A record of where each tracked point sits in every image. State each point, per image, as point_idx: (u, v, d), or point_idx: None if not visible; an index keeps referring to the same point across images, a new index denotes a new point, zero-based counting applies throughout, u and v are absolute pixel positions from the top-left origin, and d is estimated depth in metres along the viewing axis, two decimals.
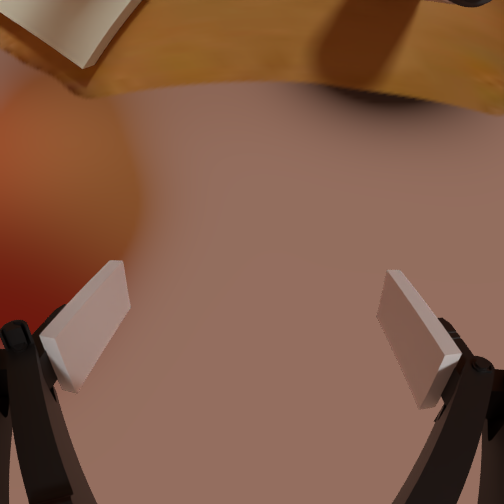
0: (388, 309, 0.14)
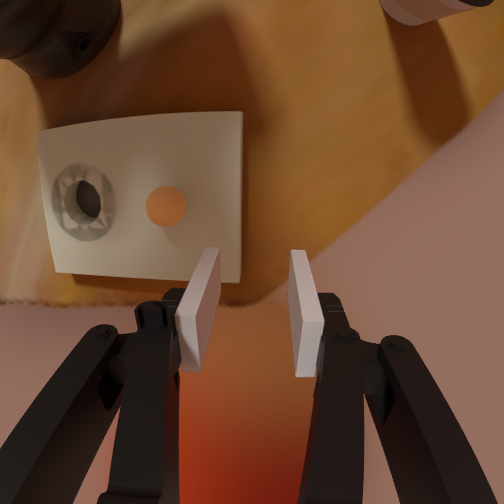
0: (290, 286, 0.16)
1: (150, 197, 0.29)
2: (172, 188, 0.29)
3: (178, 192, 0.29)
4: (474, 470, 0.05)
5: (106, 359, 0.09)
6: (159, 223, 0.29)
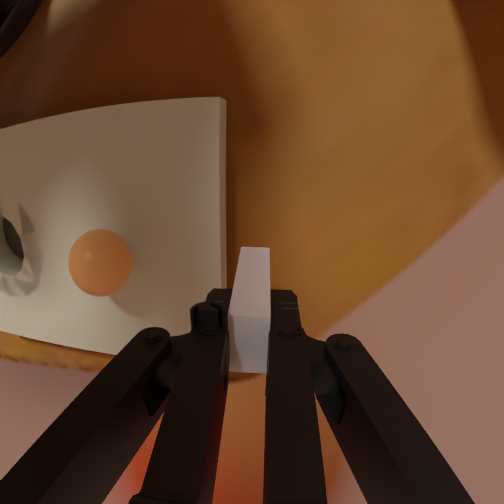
0: None
1: (71, 251, 0.16)
2: (105, 235, 0.17)
3: (115, 242, 0.17)
4: (440, 468, 0.05)
5: (155, 364, 0.09)
6: (89, 293, 0.16)
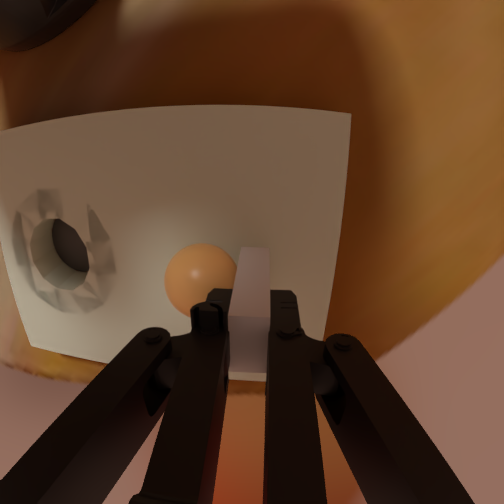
0: None
1: (172, 268, 0.15)
2: (215, 252, 0.16)
3: (226, 261, 0.16)
4: (440, 467, 0.05)
5: (155, 364, 0.09)
6: (189, 315, 0.16)
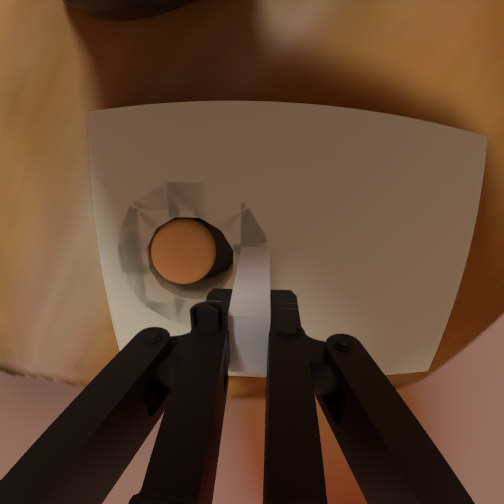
0: None
1: (162, 235, 0.18)
2: (196, 222, 0.19)
3: (205, 228, 0.19)
4: (440, 468, 0.05)
5: (155, 364, 0.09)
6: (178, 277, 0.18)
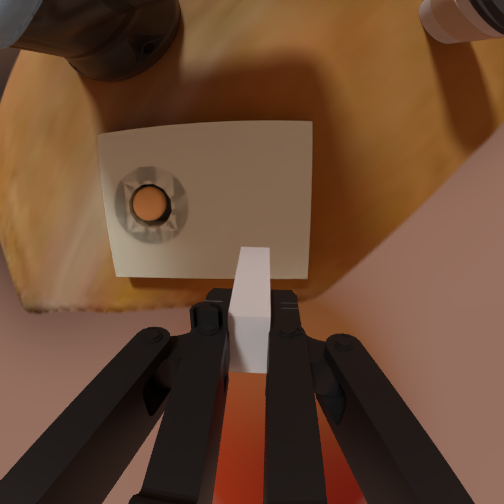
0: None
1: (138, 195, 0.34)
2: (155, 187, 0.35)
3: (160, 190, 0.36)
4: (440, 468, 0.05)
5: (155, 364, 0.09)
6: (148, 215, 0.35)
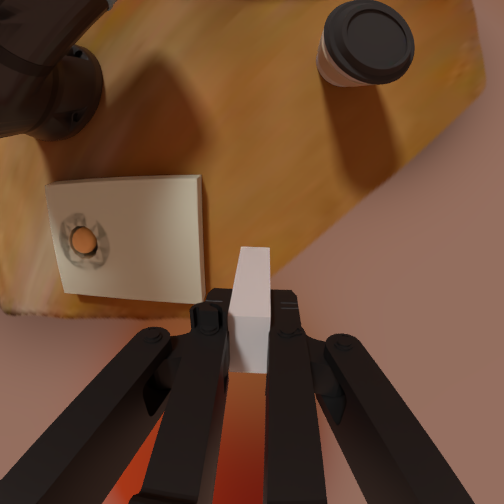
0: None
1: (75, 234, 0.42)
2: None
3: None
4: (440, 467, 0.05)
5: (155, 364, 0.09)
6: (82, 250, 0.43)
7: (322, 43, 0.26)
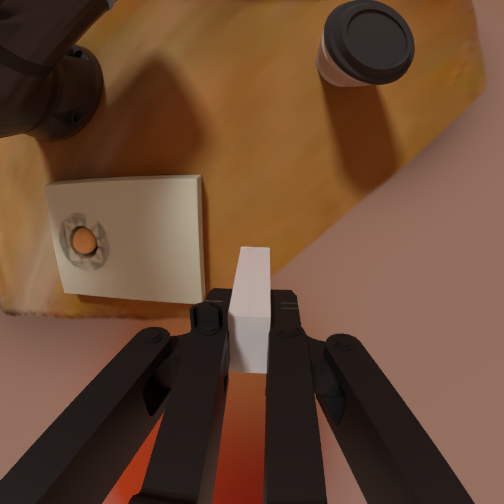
0: None
1: (76, 235, 0.42)
2: None
3: None
4: (440, 468, 0.05)
5: (155, 364, 0.09)
6: (83, 250, 0.43)
7: (322, 43, 0.26)
